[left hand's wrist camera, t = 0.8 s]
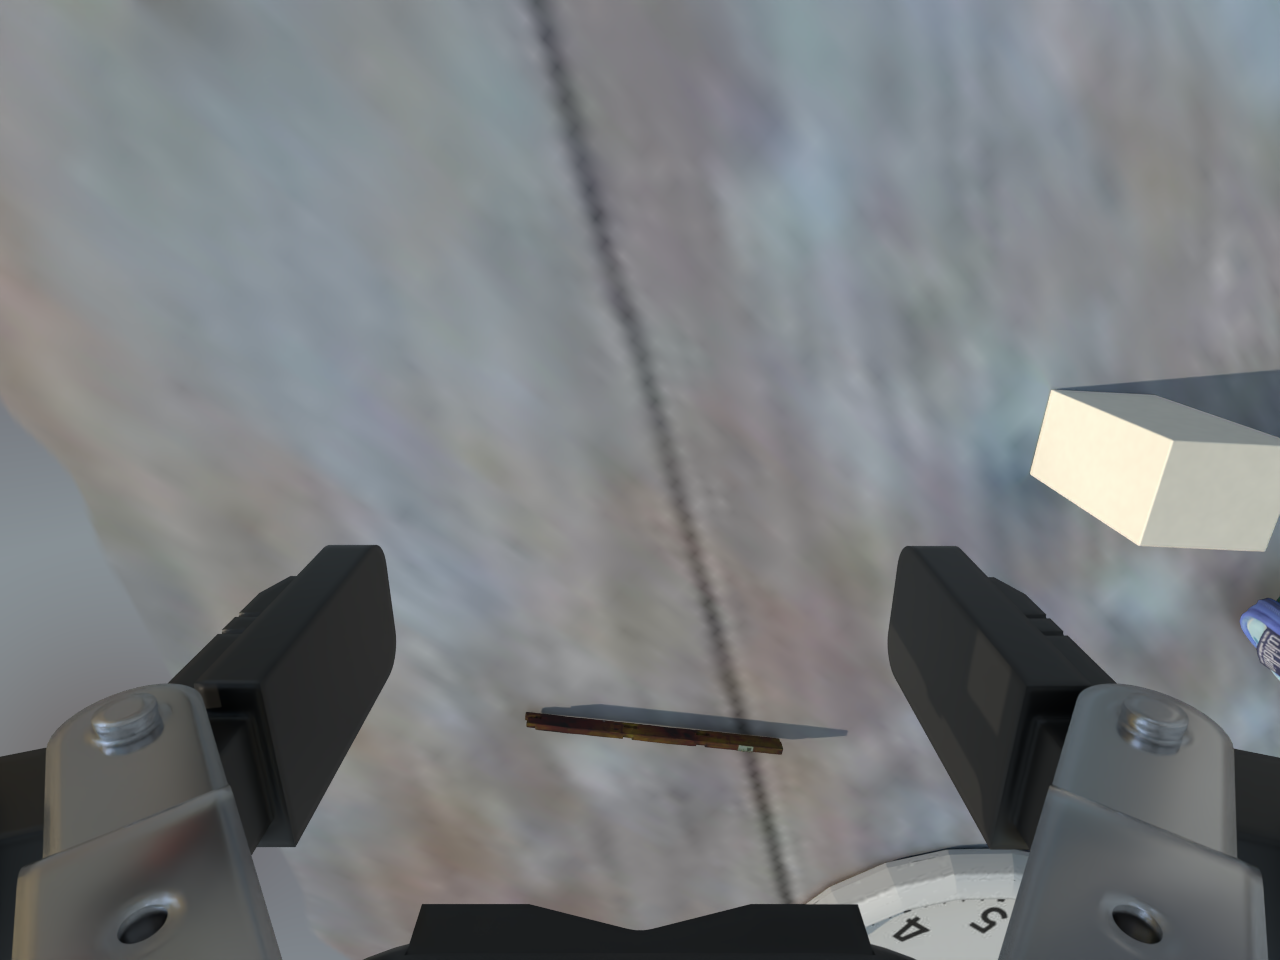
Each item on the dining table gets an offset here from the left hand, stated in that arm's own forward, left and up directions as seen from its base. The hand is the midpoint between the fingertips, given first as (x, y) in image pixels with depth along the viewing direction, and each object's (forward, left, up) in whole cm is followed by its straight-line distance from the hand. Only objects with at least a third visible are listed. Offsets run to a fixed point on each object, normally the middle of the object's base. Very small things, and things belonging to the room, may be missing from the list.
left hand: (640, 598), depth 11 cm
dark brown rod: (+20, +11, -25) cm, 33 cm away
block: (-6, +22, -25) cm, 34 cm away
